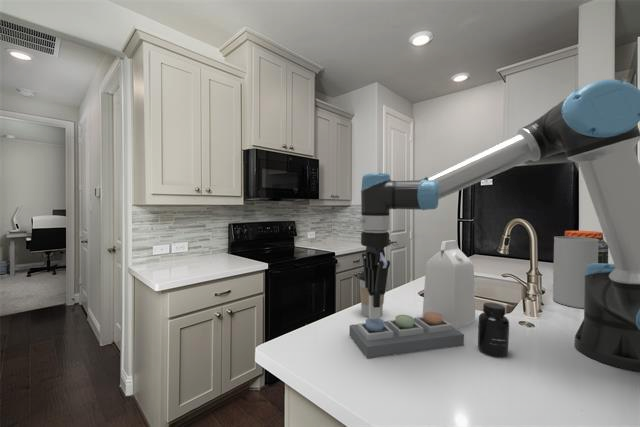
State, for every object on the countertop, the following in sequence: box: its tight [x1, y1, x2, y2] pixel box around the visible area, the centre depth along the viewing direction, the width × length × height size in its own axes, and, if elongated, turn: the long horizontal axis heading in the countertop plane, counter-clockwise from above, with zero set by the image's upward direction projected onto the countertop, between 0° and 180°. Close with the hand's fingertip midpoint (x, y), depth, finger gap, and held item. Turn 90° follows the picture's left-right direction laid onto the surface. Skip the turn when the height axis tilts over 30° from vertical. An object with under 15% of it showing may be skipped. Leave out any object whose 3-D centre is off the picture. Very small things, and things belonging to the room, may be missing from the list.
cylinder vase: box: [552, 235, 598, 310], centre depth 109 cm, size 12×12×25 cm
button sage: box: [394, 314, 415, 328], centre depth 81 cm, size 5×5×2 cm
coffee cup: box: [358, 270, 385, 318], centre depth 100 cm, size 9×9×15 cm
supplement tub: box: [564, 230, 609, 264], centre depth 126 cm, size 16×16×26 cm
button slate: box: [365, 317, 384, 331], centre depth 78 cm, size 5×5×2 cm
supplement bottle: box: [477, 302, 510, 358], centre depth 74 cm, size 7×7×12 cm
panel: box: [349, 316, 465, 360], centre depth 81 cm, size 13×28×4 cm, turn 104°
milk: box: [421, 239, 477, 330], centre depth 95 cm, size 12×12×26 cm
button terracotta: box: [424, 312, 442, 324], centre depth 83 cm, size 5×5×2 cm
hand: (374, 317), depth 78 cm, fingers closed
